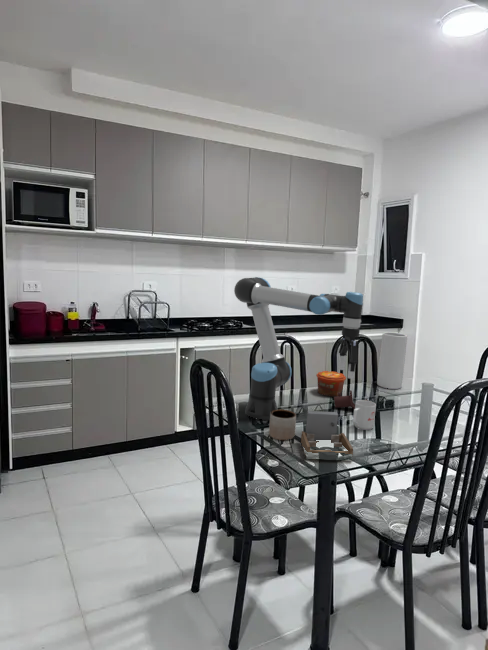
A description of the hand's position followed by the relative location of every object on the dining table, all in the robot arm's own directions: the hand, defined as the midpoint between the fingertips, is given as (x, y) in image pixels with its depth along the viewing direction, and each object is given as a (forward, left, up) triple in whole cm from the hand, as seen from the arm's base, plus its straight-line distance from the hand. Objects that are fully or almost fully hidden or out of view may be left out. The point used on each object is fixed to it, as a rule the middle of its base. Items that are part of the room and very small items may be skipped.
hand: (346, 373), depth 205 cm
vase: (+44, +64, -23) cm, 81 cm away
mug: (+8, -5, -23) cm, 25 cm away
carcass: (-14, -32, -23) cm, 42 cm away
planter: (-29, -18, -23) cm, 42 cm away
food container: (+4, +44, -23) cm, 50 cm away
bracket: (+10, +19, -23) cm, 32 cm away
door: (-14, -22, -23) cm, 34 cm away
